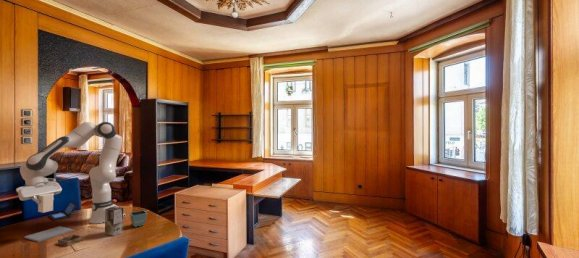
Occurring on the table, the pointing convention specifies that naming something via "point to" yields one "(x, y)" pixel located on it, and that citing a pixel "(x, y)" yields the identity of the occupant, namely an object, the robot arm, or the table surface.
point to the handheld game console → (64, 212)
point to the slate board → (48, 234)
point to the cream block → (45, 203)
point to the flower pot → (138, 218)
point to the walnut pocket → (75, 240)
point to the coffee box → (114, 220)
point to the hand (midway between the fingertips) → (45, 201)
